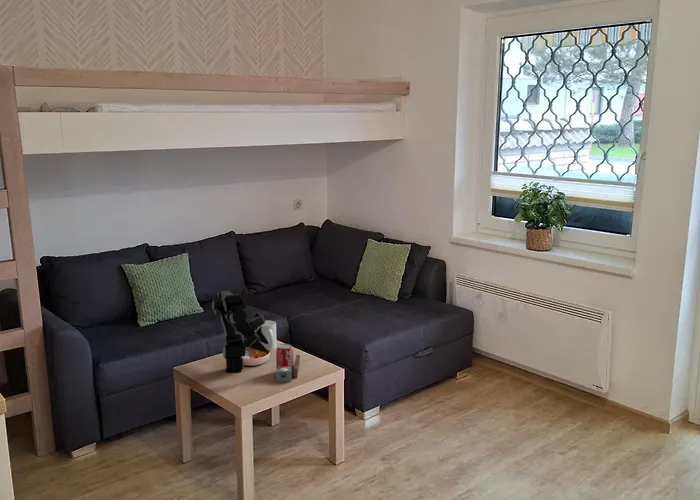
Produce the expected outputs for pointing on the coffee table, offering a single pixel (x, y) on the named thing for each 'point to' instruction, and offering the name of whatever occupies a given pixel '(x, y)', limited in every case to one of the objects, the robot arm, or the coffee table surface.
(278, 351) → the soda can
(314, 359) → the coffee table surface
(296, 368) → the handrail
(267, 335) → the mug
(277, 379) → the gauge cabinet
